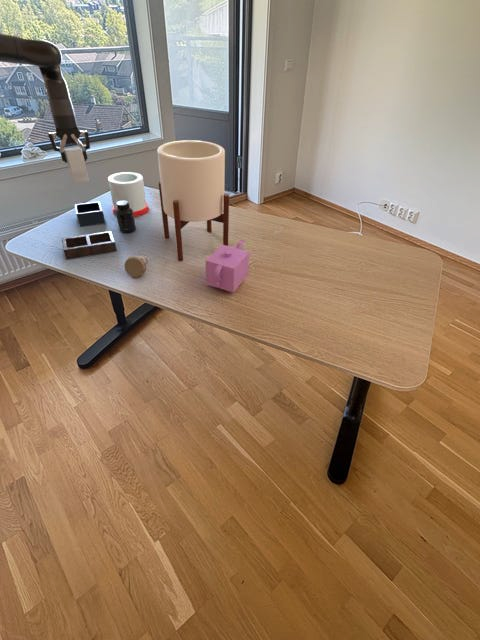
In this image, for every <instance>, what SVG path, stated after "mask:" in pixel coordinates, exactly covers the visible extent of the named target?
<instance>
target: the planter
mask: <svg viewBox="0 0 480 640" xmlns="http://www.w3.org/2000/svg"><path fill="white" fill-rule="evenodd" d="M157 160H158V161H157V162H158V171H159V181H158V191H159V199H160V209H161V219H162V226H163V227H162V228H163V236H164V240H169V239H171V238H170V228H169V219H168V217H169V218H172V219H174V230H175V231H174V232H175V242H176V243H175V244H176V253H177V255H176V256H177V261H178V262H183V261H184V252H183V239H182V229H183V228H184V227H186V225H187V224H189V223H190V222H191V223H192V222H194V223H197V222H206V232H208V233H211V232H213V231H212V228H213V227H212V226H213V225H212V222H218V223H221V224H222V245H226V246H229V227H230V226H229V224H230V222H229V221H230V219H229V218H230V194H229V193H225V175H226V174H225V173H226V172H225V171H226V170H225V167H226V164H225V163H226V150H225V148H224V147H223V146H221V145H220V144H218V143H215V142H210V141H205V140H194V139H184V140H175V141H169V142H165V143H163V144H161V145H160V146H158V148H157Z"/></svg>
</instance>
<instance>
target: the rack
mask: <svg viewBox="0 0 480 640" xmlns="http://www.w3.org/2000/svg"><path fill="white" fill-rule="evenodd" d="M61 243H62V251H63V254H64V257H65V260H66V261H67V260H74V259H79V258H85V257H92V256H97V255H103V254H110V253H114V252H117V251H118V250H117V244H116V241H115V238H114V236H113V232H112V230H107V231H102V232H101V231H100V232H95V233H86V234H79V235H73V236H67V237H61Z"/></svg>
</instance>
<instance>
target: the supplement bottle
mask: <svg viewBox="0 0 480 640" xmlns="http://www.w3.org/2000/svg"><path fill="white" fill-rule="evenodd" d="M115 216H116V221H117V225H118V229H119V232H120V233H121V234H125V235H128V234H129V235H130V234H133V233H135V232H136V231H137V226H136V220H135V217H134V214H133V210H132V209H131V208H130V205H129V202H128V201H119V202H117V210H116V215H115Z"/></svg>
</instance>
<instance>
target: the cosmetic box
mask: <svg viewBox="0 0 480 640" xmlns="http://www.w3.org/2000/svg"><path fill="white" fill-rule="evenodd" d="M63 151H64V153H65V157H66V160H67V163H66V164H67V166H68V170H69V174H70V178H71V180H72V182H73V183H74V184H82V183H88V182H90V181H91V180H90V176H89V173H88V168H87V165H86V161H85V160H84V156H83V153H82V149H81V148H80V147H70V148H64V150H63Z"/></svg>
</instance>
